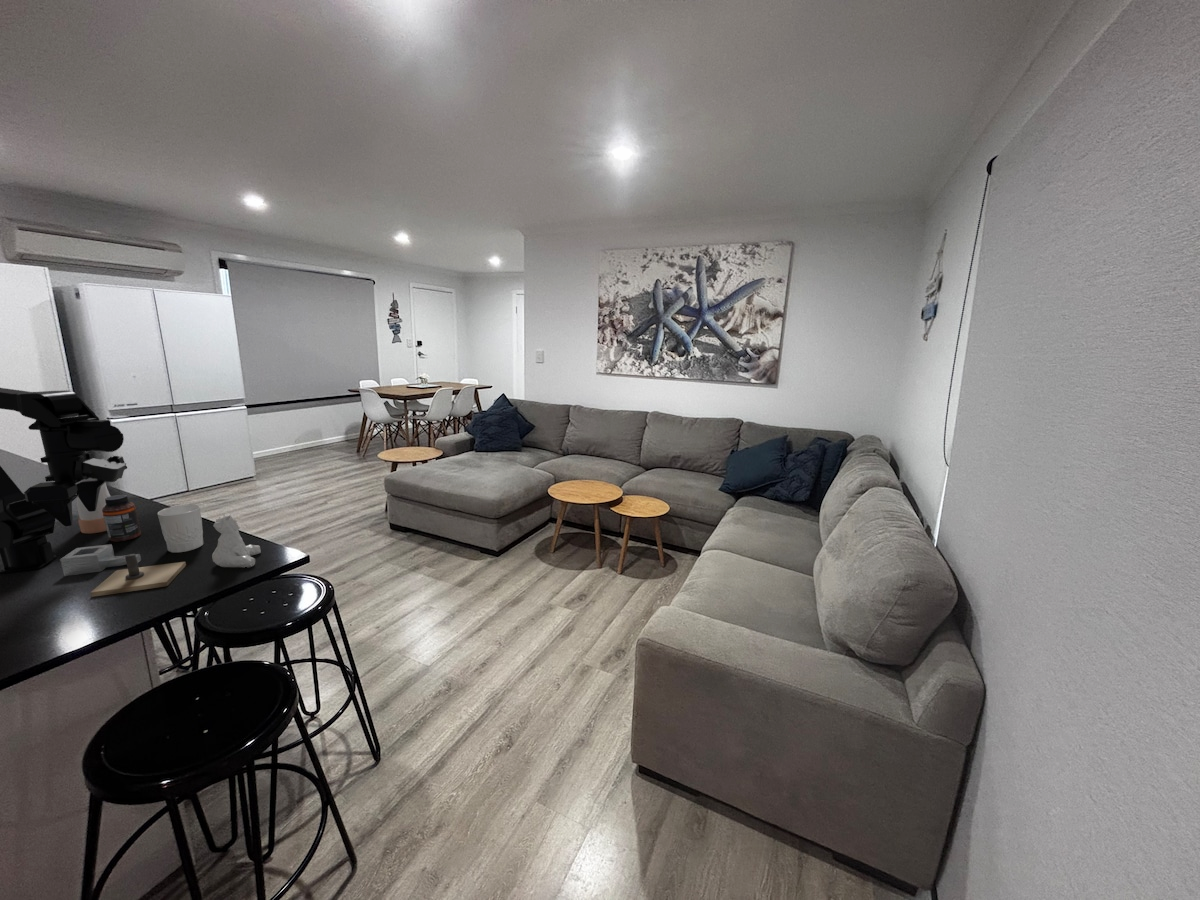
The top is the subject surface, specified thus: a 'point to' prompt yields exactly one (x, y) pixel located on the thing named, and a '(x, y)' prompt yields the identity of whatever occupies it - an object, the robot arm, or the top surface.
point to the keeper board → (138, 577)
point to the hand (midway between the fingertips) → (80, 518)
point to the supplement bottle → (120, 518)
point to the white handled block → (91, 560)
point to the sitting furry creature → (232, 545)
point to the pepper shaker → (93, 514)
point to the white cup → (181, 527)
